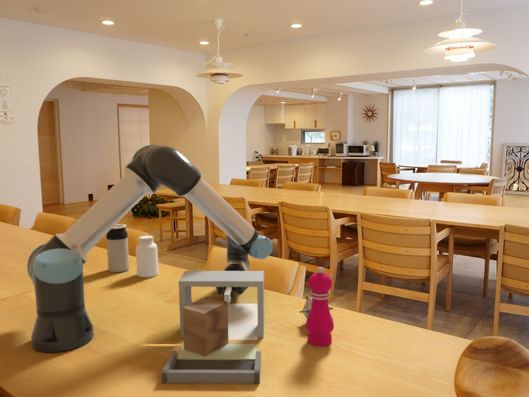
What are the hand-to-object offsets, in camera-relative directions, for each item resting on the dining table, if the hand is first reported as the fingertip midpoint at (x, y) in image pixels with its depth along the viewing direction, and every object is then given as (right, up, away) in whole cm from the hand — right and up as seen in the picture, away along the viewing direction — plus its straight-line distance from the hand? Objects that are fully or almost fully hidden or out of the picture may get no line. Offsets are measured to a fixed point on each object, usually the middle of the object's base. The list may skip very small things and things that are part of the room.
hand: (226, 299), depth 132 cm
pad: (-1, -9, -15) cm, 18 cm away
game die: (+26, -7, +1) cm, 27 cm away
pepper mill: (+25, -9, -10) cm, 29 cm away
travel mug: (-47, 0, +54) cm, 72 cm away
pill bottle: (-34, -1, +47) cm, 58 cm away
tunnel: (0, -7, +2) cm, 7 cm away
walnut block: (-4, -9, -14) cm, 17 cm away
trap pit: (-1, -11, -26) cm, 28 cm away
